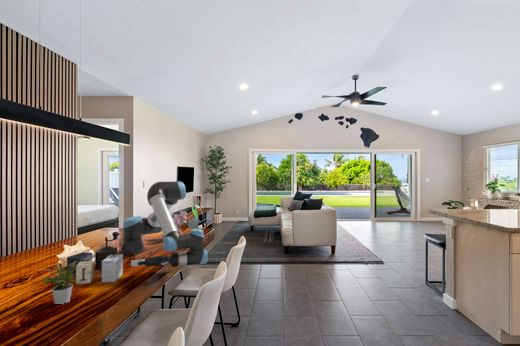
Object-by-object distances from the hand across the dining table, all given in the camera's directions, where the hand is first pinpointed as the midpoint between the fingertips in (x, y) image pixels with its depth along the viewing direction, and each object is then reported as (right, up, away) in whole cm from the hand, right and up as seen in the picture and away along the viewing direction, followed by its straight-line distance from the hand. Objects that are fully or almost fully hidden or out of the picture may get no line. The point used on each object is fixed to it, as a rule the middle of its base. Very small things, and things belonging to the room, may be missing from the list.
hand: (131, 263), depth 148 cm
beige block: (-20, -7, -7) cm, 22 cm away
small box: (-28, -7, +3) cm, 29 cm away
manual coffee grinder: (-23, -7, +20) cm, 31 cm away
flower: (-4, -8, +83) cm, 83 cm away
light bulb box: (-8, -7, -3) cm, 11 cm away
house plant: (-15, -7, -29) cm, 33 cm away
